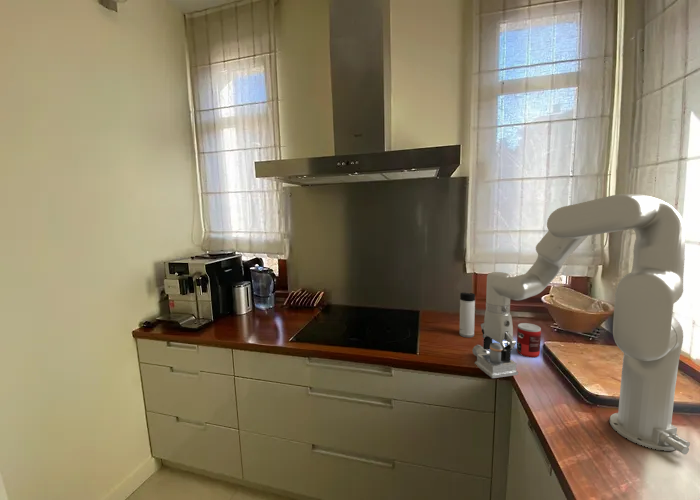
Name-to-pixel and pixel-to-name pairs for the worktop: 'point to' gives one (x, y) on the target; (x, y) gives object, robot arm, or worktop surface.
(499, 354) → the canister
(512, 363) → the fitting
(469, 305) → the travel mug
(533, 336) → the canned food
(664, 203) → the robot arm
